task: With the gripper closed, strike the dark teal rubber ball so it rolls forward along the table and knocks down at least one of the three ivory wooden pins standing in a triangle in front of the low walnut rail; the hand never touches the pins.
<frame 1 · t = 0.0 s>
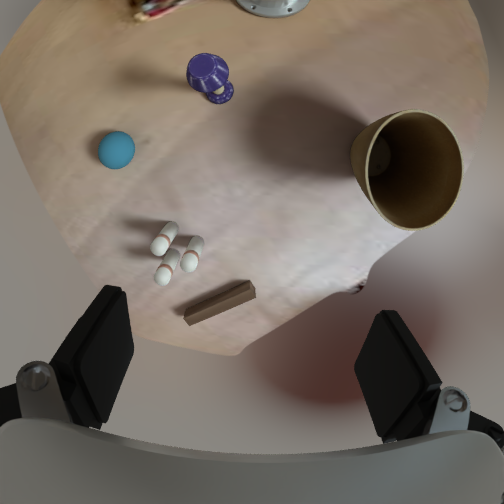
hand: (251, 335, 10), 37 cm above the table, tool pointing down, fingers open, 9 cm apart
toy lamp: (219, 89, 39), on the table
back rail: (219, 299, 53), on the table
plant pot: (369, 155, 43), on the table
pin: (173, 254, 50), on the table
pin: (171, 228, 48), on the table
ball: (116, 150, 39), on the table
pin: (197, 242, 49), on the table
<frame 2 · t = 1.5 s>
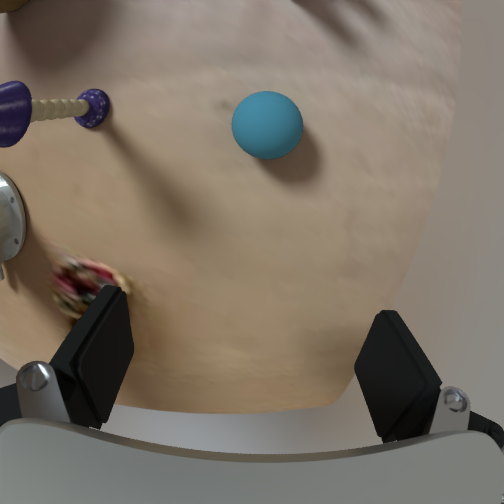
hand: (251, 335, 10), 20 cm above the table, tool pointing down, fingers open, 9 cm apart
toy lamp: (92, 111, 24), on the table
ball: (267, 125, 23), on the table
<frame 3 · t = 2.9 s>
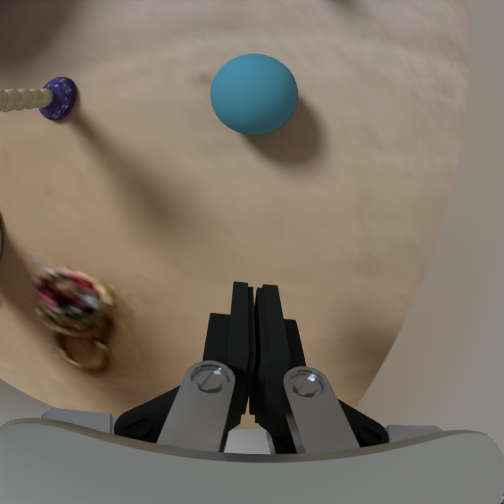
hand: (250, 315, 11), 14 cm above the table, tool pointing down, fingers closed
toy lamp: (59, 102, 19), on the table
ball: (254, 94, 18), on the table
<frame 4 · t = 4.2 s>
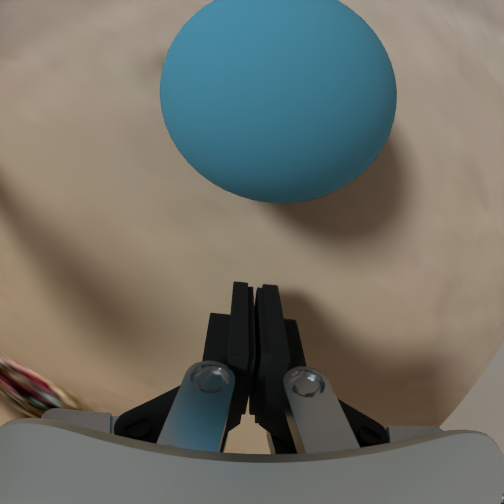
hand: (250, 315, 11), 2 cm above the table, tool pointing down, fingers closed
ball: (278, 90, 7), on the table
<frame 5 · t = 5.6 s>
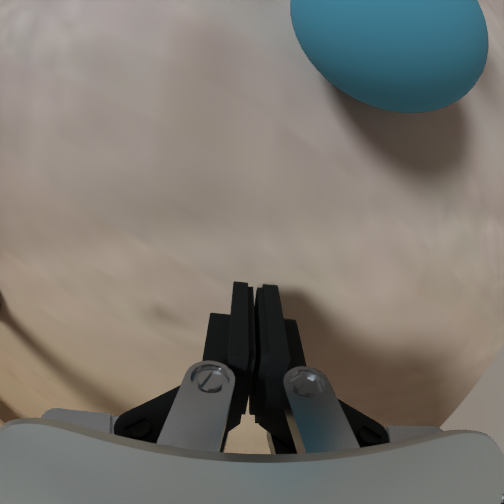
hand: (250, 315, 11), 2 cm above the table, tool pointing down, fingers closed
ball: (391, 21, 5), on the table
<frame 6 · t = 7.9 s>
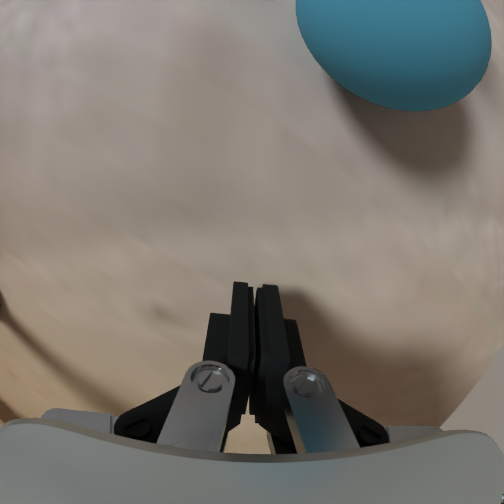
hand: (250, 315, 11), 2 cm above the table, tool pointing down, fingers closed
ball: (395, 20, 5), on the table
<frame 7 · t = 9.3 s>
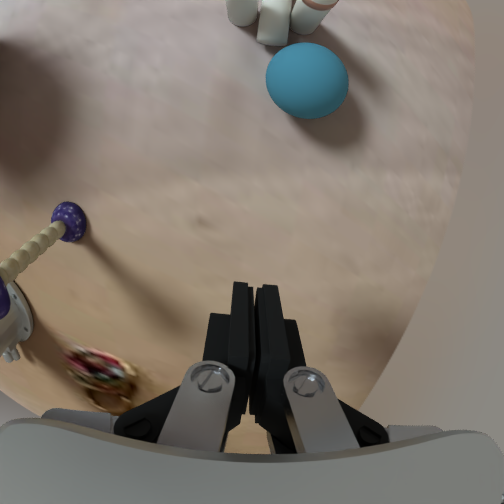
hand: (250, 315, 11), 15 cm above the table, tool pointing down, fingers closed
toy lamp: (70, 223, 25), on the table
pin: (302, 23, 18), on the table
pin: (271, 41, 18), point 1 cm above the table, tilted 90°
ball: (307, 80, 18), on the table
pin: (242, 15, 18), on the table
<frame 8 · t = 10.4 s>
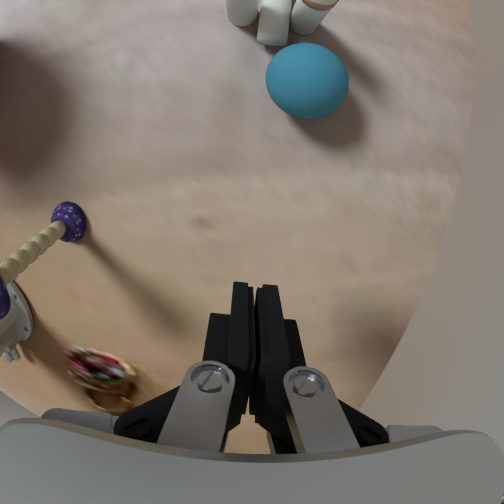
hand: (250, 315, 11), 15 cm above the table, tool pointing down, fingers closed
toy lamp: (70, 223, 25), on the table
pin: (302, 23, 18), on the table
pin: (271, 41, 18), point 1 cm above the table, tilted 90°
ball: (307, 80, 18), on the table
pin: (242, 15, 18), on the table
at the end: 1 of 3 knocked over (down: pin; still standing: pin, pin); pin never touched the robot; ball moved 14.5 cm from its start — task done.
